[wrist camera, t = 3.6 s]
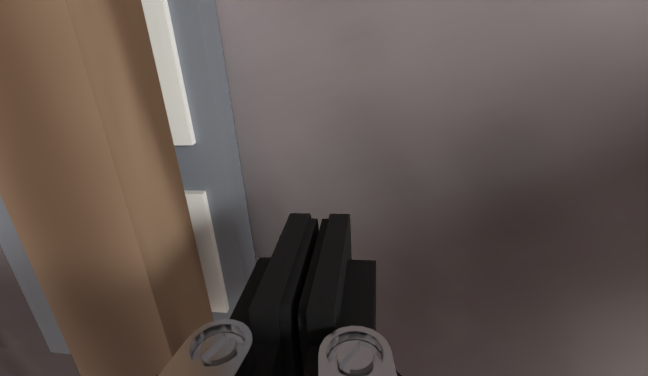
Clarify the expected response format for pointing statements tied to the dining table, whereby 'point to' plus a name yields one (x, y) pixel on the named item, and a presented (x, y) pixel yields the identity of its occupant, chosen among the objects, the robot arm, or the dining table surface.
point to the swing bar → (97, 183)
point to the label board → (181, 160)
